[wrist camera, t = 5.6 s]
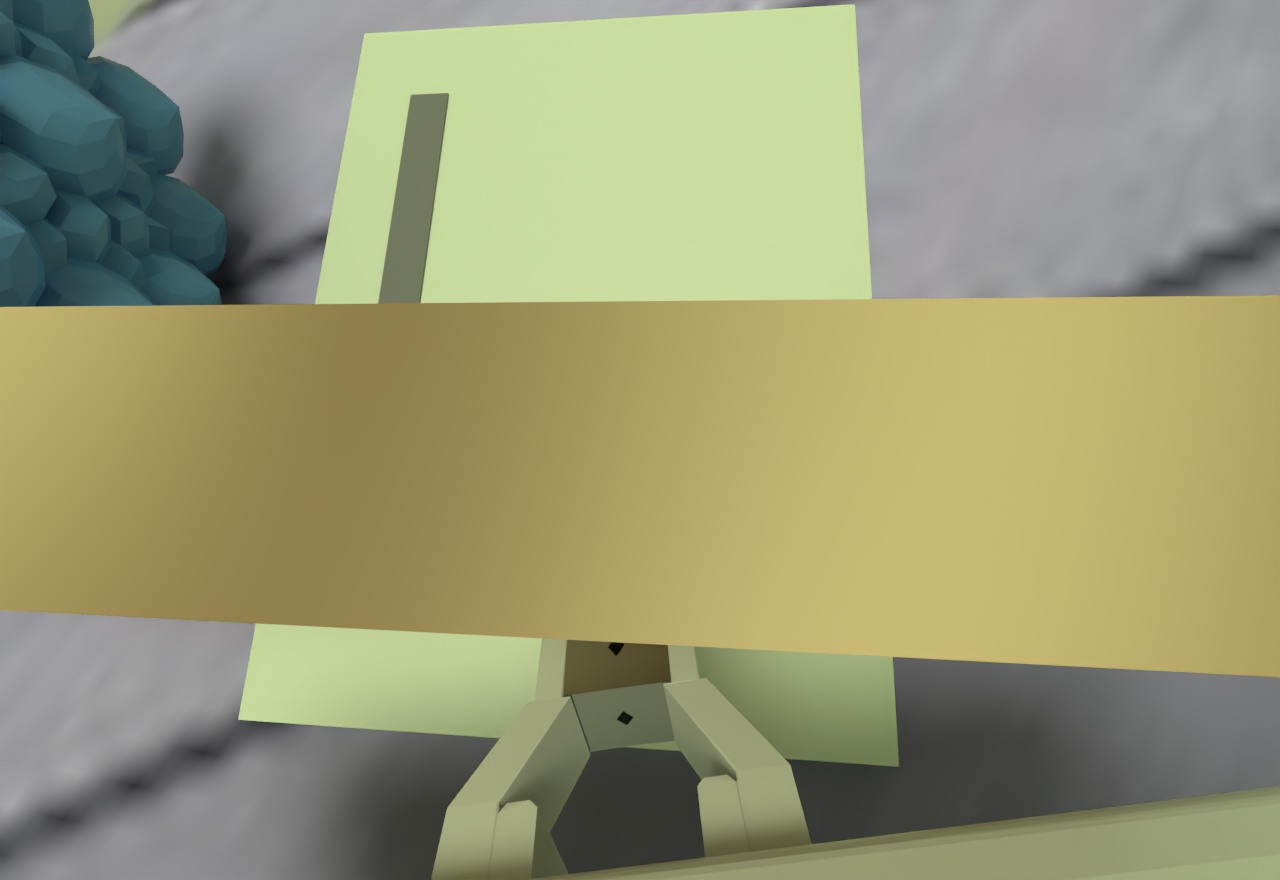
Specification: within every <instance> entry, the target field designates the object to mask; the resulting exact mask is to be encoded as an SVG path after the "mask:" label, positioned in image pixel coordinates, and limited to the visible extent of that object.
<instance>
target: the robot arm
mask: <svg viewBox="0 0 1280 880" xmlns="http://www.w3.org/2000/svg"><path fill="white" fill-rule="evenodd" d="M670 741H675V743H676V745H677V746H678V748H679V749H680V750H681V752H682V753H683V755H684V756H685V757H686V759H687V760H688V762H689V763H690V764H691V766H692V767H693V769H694V770H695V771H696V773H697V774H698V776H699V777H700V778H701V782H700V783H699V785H698V786H697V789H698V798H699V807H700V816H701V825H702V834H703V842H704V851H705V857H703V858H695V859H687V860H679V861H670V862H662V863H654V864H646V865H638V866H630V867H622V868H614V869H606V870H598V871H590V872H582V873H573V874H568V871H567V869H566V867H565V864H564V862H563V860H562V858H561V856H560V854H559V852H558V850H557V847H556V845H555V843H554V841H553V839H552V837H551V835H550V832H551V830H552V828H553V826H554V824H555V823H556V821H557V819H558V817H559V815H560V813H561V811H562V809H563V807H564V805H565V803H566V801H567V800H568V798H569V796H570V794H571V792H572V790H573V788H574V786H575V784H576V782H577V780H578V778H579V777H580V775H581V773H582V771H583V769H584V767H585V765H586V763H587V761H588V759H589V757H590V752H595V751H601V750H607V749H613V748H619V747H626V746H632V745H641V744H651V743H661V742H670ZM431 880H1280V786H1276V787H1268V788H1260V789H1252V790H1244V791H1236V792H1228V793H1220V794H1212V795H1204V796H1195V797H1187V798H1179V799H1171V800H1163V801H1155V802H1147V803H1139V804H1131V805H1123V806H1115V807H1107V808H1099V809H1091V810H1083V811H1075V812H1067V813H1059V814H1051V815H1043V816H1035V817H1027V818H1018V819H1010V820H1002V821H994V822H986V823H978V824H970V825H962V826H954V827H946V828H938V829H930V830H922V831H914V832H906V833H898V834H890V835H882V836H874V837H866V838H858V839H850V840H841V841H833V842H825V843H817V844H812V843H811V840H810V836H809V832H808V828H807V825H806V821H805V817H804V814H803V810H802V806H801V802H800V799H799V795H798V791H797V788H796V784H795V780H794V776H793V773H792V769H791V765H790V764H789V763H788V762H787V761H786V760H785V759H784V758H783V757H782V756H781V754H780V753H779V752H778V751H777V750H776V749H775V748H774V747H773V746H772V745H771V744H770V743H769V742H768V741H767V740H766V739H765V738H764V737H763V736H762V734H761V733H760V732H759V731H758V730H757V729H756V728H755V727H754V726H753V725H752V724H751V723H750V722H749V721H748V720H747V719H746V718H745V717H744V716H743V714H742V713H741V712H740V711H739V710H738V709H737V708H736V707H735V706H734V705H733V704H732V703H731V702H730V701H729V700H728V699H727V698H726V697H725V696H724V694H723V693H722V692H721V691H720V690H719V689H718V688H717V687H716V686H715V685H714V684H713V683H712V682H711V681H710V680H709V679H708V678H700V674H699V667H698V661H697V654H696V648H695V646H677V645H658V644H639V643H620V642H601V641H582V640H563V639H544V638H542V644H541V652H540V660H539V668H538V677H537V685H536V693H535V701H531V702H527V703H526V705H525V706H524V707H523V709H522V710H521V711H520V712H519V714H518V715H517V716H516V718H515V719H514V720H513V722H512V723H511V724H510V726H509V727H508V728H507V730H506V731H505V732H504V734H503V735H502V736H501V738H500V739H499V740H498V742H497V743H496V744H495V746H494V747H493V748H492V750H491V751H490V752H489V753H488V755H487V756H486V757H485V759H484V760H483V761H482V763H481V764H480V765H479V767H478V768H477V769H476V771H475V772H474V773H473V775H472V776H471V777H470V779H469V780H468V781H467V783H466V784H465V785H464V787H463V788H462V789H461V791H460V792H459V793H458V794H457V796H456V797H455V798H454V800H453V801H452V802H451V804H450V805H449V806H448V808H447V811H446V815H445V820H444V824H443V829H442V833H441V837H440V842H439V846H438V851H437V855H436V859H435V864H434V868H433V872H432V877H431Z"/></svg>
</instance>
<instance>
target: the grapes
mask: <svg viewBox="0 0 1280 880" xmlns="http://www.w3.org/2000/svg"><path fill="white" fill-rule="evenodd" d="M93 48H94V21H93V16H92V13H91V9H90V5H89V2H88V0H0V307H47V306H160V305H222V303H221V297H220V292H219V289H218V287H217V286H216V285H215V284H214V283H213V282H212V281H211V280H210V279H209V278H208V277H207V275H209V274H211V273H214V272H216V271H217V270H218V269H219V267H220V265H221V263H222V261H223V259H224V258H225V256H226V245H227V227H226V220H225V215H224V214H223V213H222V212H220V211H219V210H218V209H217V208H216V207H215V206H214V205H213V204H212V203H211V202H210V201H208V200H207V199H206V198H205V197H204V196H203V195H202V194H200V193H199V192H197V191H196V190H194V189H193V188H191V187H190V186H188V185H186V184H185V183H183V182H182V181H180V180H179V179H176V178H172V177H169V176H165V175H167V174H170V173H174V171H175V169H176V167H177V166H178V164H179V162H180V160H181V158H182V157H183V138H184V133H183V127H182V121H181V116H180V111H179V107H178V106H177V105H176V104H175V103H174V102H173V101H172V100H171V99H169V98H168V97H167V96H166V95H165V94H164V93H163V92H162V91H161V90H159V89H158V88H157V87H156V86H155V85H153V84H152V83H150V82H149V81H147V80H146V79H145V78H143V77H142V76H140V75H139V74H138V73H136V72H135V71H133V70H132V69H130V68H129V67H127V66H124V65H122V64H119V63H116V62H114V61H111V60H109V59H106V58H103V57H101V56H98V57H92V58H88V56H89V55H90V53H91V51H92V50H93Z"/></svg>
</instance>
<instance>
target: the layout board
mask: <svg viewBox="0 0 1280 880" xmlns="http://www.w3.org/2000/svg"><path fill="white" fill-rule="evenodd" d="M835 299H872V292H871V275H870V258H869V241H868V224H867V206H866V189H865V172H864V155H863V138H862V121H861V104H860V86H859V69H858V52H857V35H856V18H855V4H852V5H836V6H819V7H802V8H785V9H769V10H752V11H735V12H719V13H702V14H685V15H668V16H652V17H635V18H618V19H601V20H585V21H568V22H551V23H535V24H518V25H501V26H484V27H468V28H451V29H434V30H418V31H401V32H384V33H367V34H364V40H363V45H362V50H361V56H360V61H359V67H358V72H357V78H356V83H355V88H354V94H353V99H352V105H351V110H350V116H349V121H348V126H347V132H346V137H345V143H344V148H343V154H342V159H341V164H340V170H339V175H338V181H337V186H336V192H335V197H334V202H333V208H332V213H331V219H330V224H329V230H328V235H327V240H326V246H325V251H324V257H323V262H322V268H321V273H320V278H319V284H318V289H317V295H316V300H315V304H385V303H498V302H610V301H723V300H835ZM541 644H542V638H525V637H506V636H487V635H468V634H449V633H430V632H410V631H391V630H372V629H353V628H334V627H315V626H296V625H277V624H258V623H256V626H255V631H254V637H253V642H252V648H251V653H250V658H249V664H248V669H247V675H246V680H245V686H244V691H243V696H242V702H241V707H240V713H239V718H238V720H250V721H264V722H278V723H292V724H306V725H320V726H334V727H348V728H362V729H376V730H390V731H404V732H418V733H432V734H446V735H460V736H475V737H489V738H501V736H502V735H503V734H504V732H505V731H506V730H507V728H508V727H509V726H510V724H511V723H512V722H513V720H514V719H515V718H516V716H517V715H518V714H519V712H520V711H521V710H522V709H523V707H524V706H525V705H526V703H527V702H531V701H535V693H536V685H537V677H538V668H539V660H540V652H541ZM695 648H696V654H697V661H698V667H699V674H700V678H708V679H709V680H710V681H711V682H712V683H713V684H714V685H715V686H716V687H717V688H718V689H719V690H720V691H721V692H722V693H723V694H724V696H725V697H726V698H727V699H728V700H729V701H730V702H731V703H732V704H733V705H734V706H735V707H736V708H737V709H738V710H739V711H740V712H741V713H742V714H743V716H744V717H745V718H746V719H747V720H748V721H749V722H750V723H751V724H752V725H753V726H754V727H755V728H756V729H757V730H758V731H759V732H760V733H761V734H762V736H763V737H764V738H765V739H766V740H767V741H768V742H769V743H770V744H771V745H772V746H773V747H774V748H775V749H776V750H777V751H778V752H779V753H780V754H781V756H782V757H783V758H784V759H797V760H811V761H825V762H839V763H853V764H867V765H881V766H895V767H899V755H898V738H897V721H896V704H895V686H894V669H893V657H887V656H868V655H849V654H830V653H810V652H791V651H772V650H753V649H734V648H715V647H696V646H695ZM626 747H629V748H643V749H657V750H671V751H681V750H680V749H679V748H678V746H677V745H676V743H675V741H670V742H661V743H651V744H641V745H632V746H626Z"/></svg>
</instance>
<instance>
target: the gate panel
mask: <svg viewBox="0 0 1280 880" xmlns="http://www.w3.org/2000/svg"><path fill="white" fill-rule="evenodd" d="M0 610H11V611H30V612H49V613H68V614H87V615H106V616H125V617H144V618H163V619H182V620H201V621H220V622H239V623H258V624H277V625H296V626H315V627H334V628H353V629H372V630H391V631H410V632H430V633H449V634H468V635H487V636H506V637H525V638H544V639H563V640H582V641H601V642H620V643H639V644H658V645H677V646H696V647H715V648H734V649H753V650H772V651H791V652H810V653H830V654H849V655H868V656H887V657H906V658H925V659H944V660H963V661H982V662H1001V663H1020V664H1039V665H1058V666H1077V667H1096V668H1115V669H1134V670H1153V671H1172V672H1191V673H1210V674H1229V675H1249V676H1268V677H1280V296H1174V297H1061V298H948V299H835V300H723V301H610V302H498V303H385V304H272V305H160V306H47V307H0Z"/></svg>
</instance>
